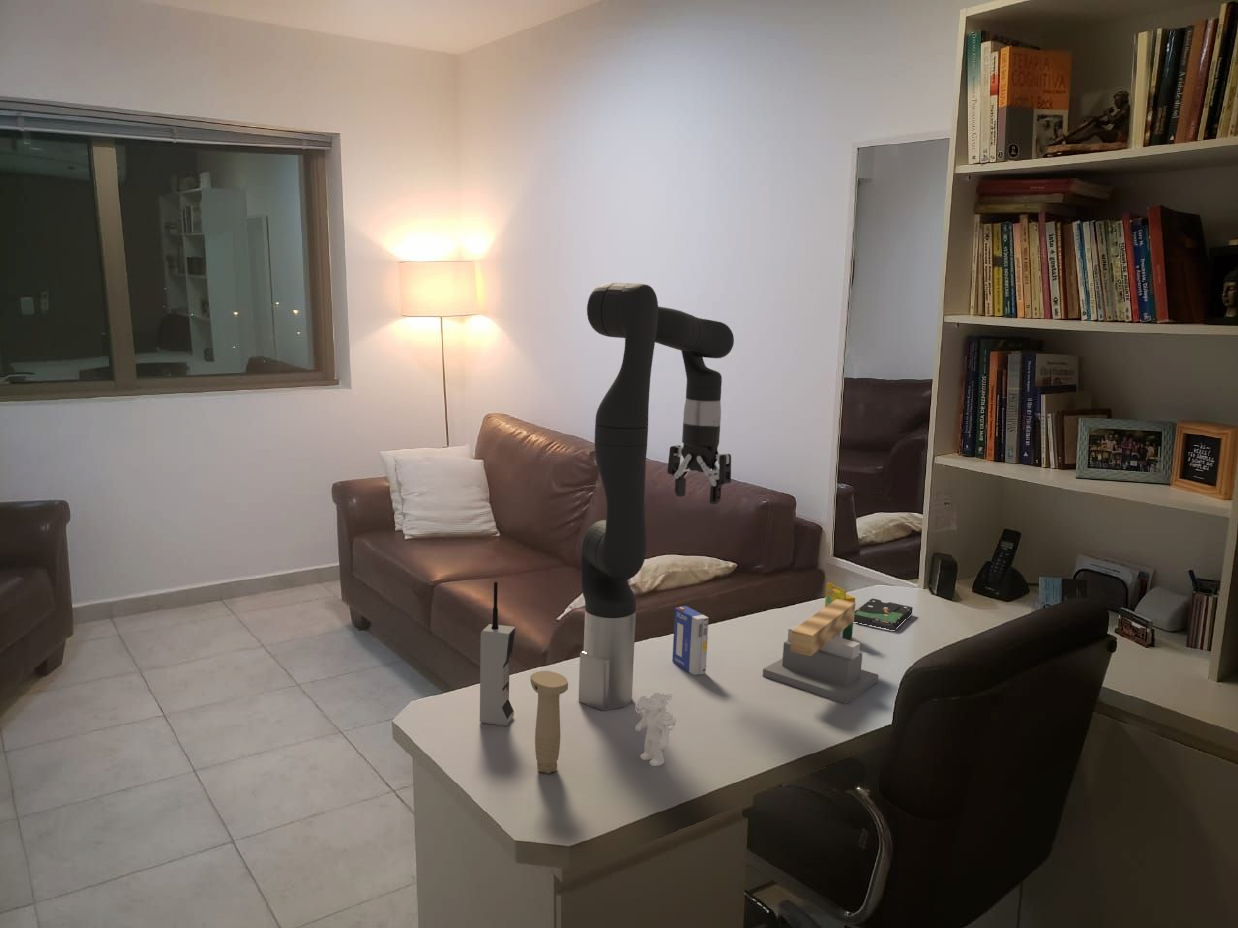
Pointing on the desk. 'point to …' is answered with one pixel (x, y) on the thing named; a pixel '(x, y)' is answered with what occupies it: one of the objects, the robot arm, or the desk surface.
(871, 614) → the disk drive
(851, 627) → the crayon box
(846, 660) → the balance stand
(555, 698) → the handle
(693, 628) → the walkman
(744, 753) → the desk surface
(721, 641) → the desk surface
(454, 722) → the desk surface
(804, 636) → the oak bar
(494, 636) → the vintage mobile phone
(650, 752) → the white figurine
